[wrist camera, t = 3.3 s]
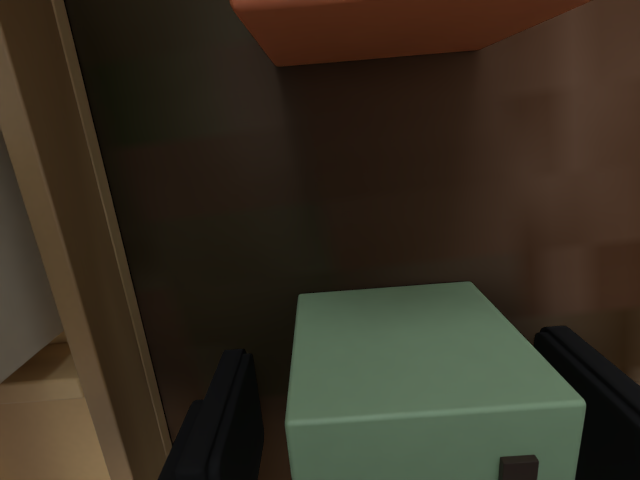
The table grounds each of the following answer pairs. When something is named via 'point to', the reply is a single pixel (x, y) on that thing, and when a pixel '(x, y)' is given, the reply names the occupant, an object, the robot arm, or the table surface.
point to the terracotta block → (386, 26)
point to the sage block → (424, 391)
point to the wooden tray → (72, 276)
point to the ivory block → (21, 280)
